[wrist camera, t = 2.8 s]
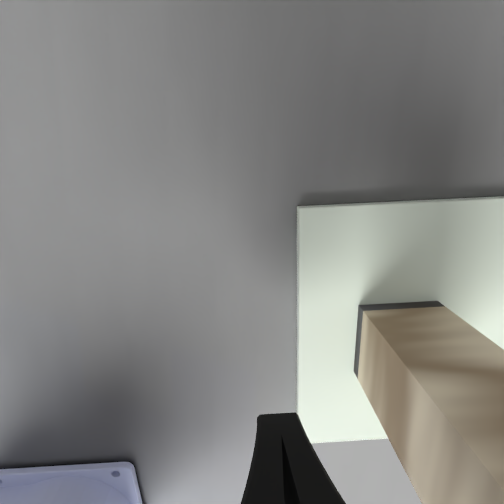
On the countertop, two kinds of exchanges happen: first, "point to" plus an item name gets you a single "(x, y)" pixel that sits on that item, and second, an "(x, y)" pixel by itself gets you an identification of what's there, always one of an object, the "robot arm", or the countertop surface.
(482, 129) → the countertop surface
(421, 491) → the birch block
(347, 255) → the sage board
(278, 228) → the countertop surface
